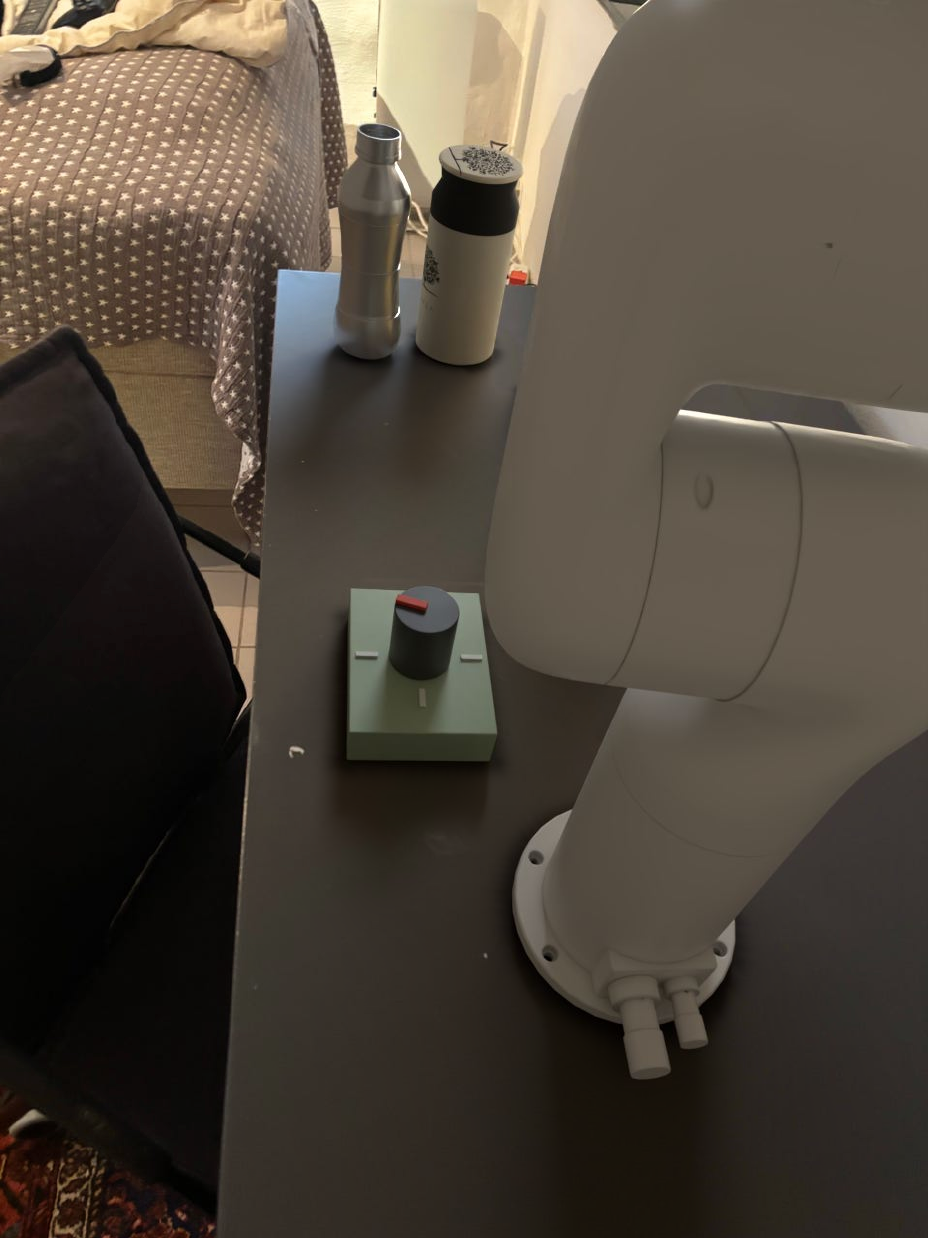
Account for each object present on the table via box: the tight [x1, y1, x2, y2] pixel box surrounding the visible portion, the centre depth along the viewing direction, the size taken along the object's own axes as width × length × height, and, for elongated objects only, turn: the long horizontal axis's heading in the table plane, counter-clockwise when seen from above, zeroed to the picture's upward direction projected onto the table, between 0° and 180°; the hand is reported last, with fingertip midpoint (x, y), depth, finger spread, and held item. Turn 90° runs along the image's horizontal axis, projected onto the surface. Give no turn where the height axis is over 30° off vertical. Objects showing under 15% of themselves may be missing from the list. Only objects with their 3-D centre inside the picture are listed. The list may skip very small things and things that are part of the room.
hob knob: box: [389, 585, 460, 680], centre depth 55 cm, size 4×4×5 cm
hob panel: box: [346, 588, 498, 762], centre depth 58 cm, size 12×9×3 cm
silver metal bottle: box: [332, 122, 413, 360], centre depth 79 cm, size 6×7×20 cm
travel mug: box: [415, 144, 524, 366], centre depth 83 cm, size 8×8×18 cm
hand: (592, 396), depth 79 cm, fingers closed
